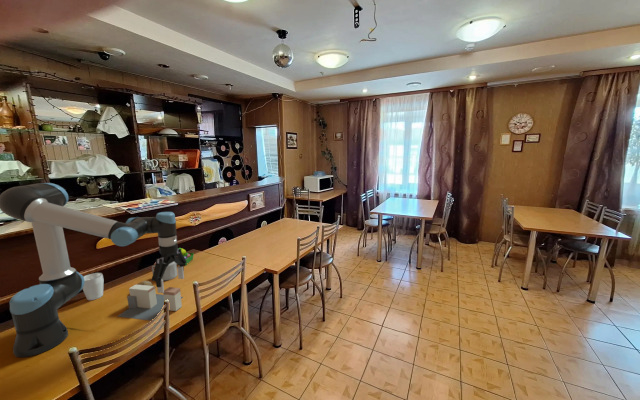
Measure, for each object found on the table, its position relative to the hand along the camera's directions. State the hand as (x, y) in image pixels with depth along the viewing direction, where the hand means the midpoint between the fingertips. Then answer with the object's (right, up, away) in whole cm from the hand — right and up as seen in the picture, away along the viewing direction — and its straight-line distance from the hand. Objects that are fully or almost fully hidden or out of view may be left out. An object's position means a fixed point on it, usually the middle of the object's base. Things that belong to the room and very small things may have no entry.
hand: (171, 285), depth 123 cm
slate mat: (-12, -13, +5) cm, 18 cm away
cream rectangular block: (-17, -12, +5) cm, 22 cm away
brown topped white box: (0, -13, +3) cm, 13 cm away
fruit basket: (-24, -3, +56) cm, 61 cm away
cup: (-50, -11, +13) cm, 53 cm away
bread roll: (-27, -11, +18) cm, 34 cm away
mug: (-25, -7, +35) cm, 44 cm away
